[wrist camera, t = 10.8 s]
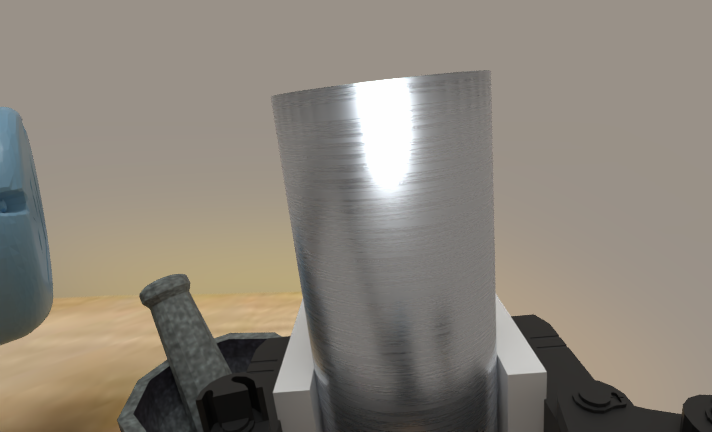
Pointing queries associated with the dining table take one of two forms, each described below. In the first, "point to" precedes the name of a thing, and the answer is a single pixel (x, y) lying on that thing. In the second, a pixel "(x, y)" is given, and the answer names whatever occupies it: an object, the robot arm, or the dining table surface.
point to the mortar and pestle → (182, 361)
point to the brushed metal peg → (396, 249)
